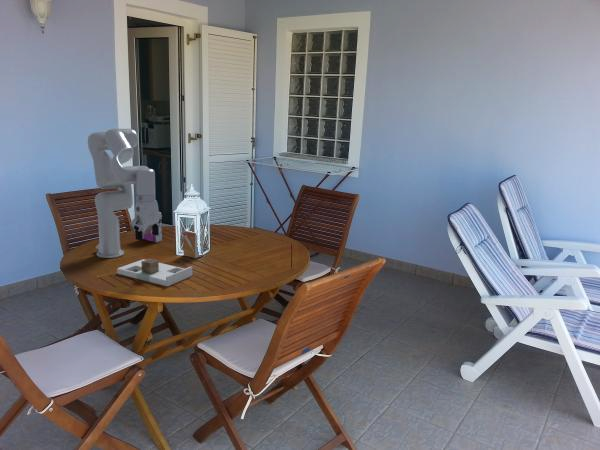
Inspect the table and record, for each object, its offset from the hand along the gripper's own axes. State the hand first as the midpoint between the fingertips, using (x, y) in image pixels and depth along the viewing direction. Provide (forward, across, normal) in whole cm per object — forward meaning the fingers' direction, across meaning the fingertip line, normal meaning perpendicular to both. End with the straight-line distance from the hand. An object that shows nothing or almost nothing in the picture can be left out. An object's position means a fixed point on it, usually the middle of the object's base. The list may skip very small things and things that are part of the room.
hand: (147, 237), depth 209 cm
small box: (+19, +36, +5) cm, 41 cm away
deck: (+18, +4, +1) cm, 19 cm away
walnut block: (+16, +1, 0) cm, 16 cm away
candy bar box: (+19, +45, +41) cm, 64 cm away
